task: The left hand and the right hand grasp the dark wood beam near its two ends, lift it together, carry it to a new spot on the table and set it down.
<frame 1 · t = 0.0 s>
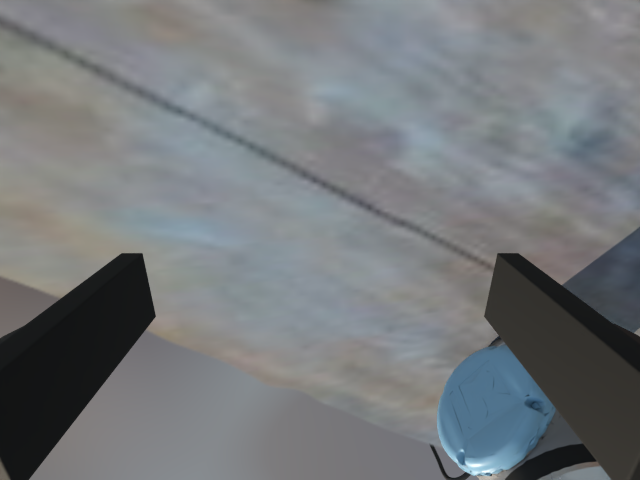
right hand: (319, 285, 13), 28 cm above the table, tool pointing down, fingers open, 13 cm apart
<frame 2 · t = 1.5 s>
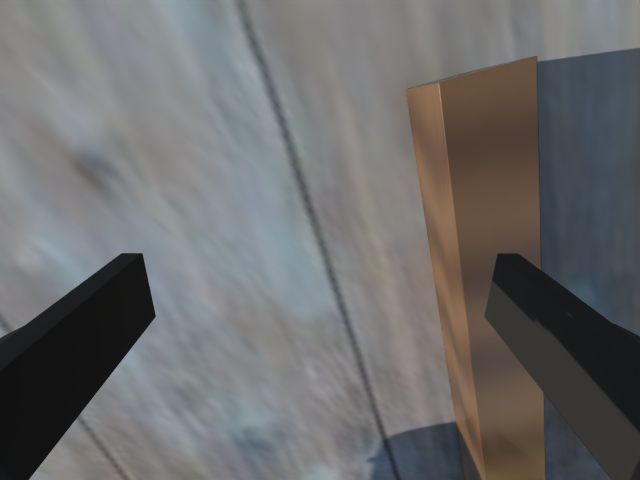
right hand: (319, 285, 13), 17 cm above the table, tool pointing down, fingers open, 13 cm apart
beam: (474, 378, 36), on the table
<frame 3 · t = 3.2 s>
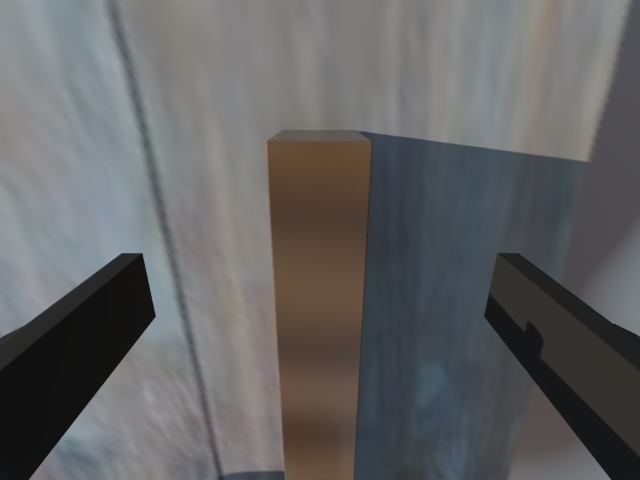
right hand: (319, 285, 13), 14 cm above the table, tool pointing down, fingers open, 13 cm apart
beam: (319, 433, 35), on the table, touching left hand
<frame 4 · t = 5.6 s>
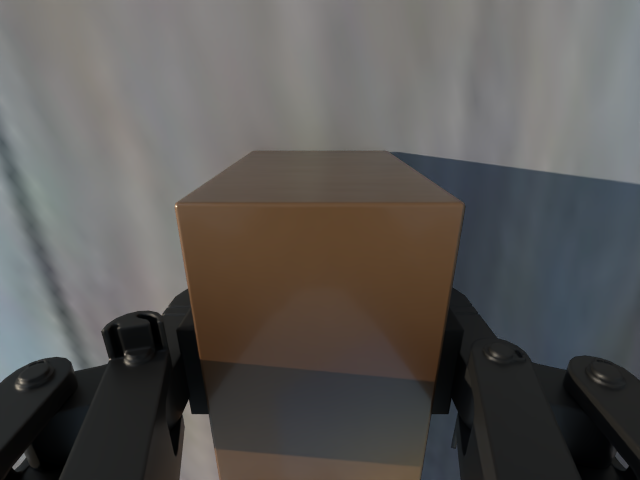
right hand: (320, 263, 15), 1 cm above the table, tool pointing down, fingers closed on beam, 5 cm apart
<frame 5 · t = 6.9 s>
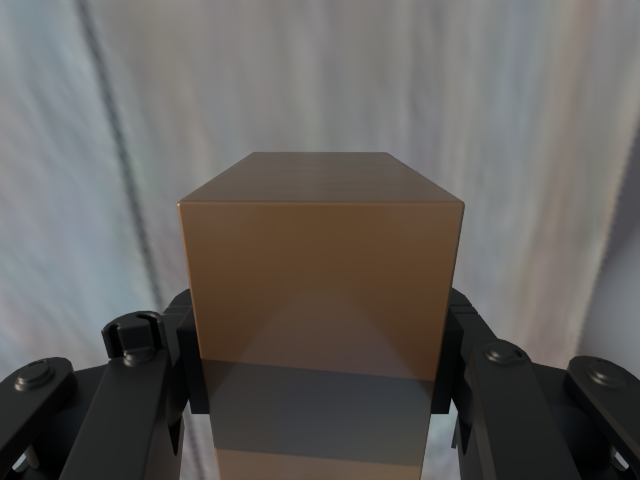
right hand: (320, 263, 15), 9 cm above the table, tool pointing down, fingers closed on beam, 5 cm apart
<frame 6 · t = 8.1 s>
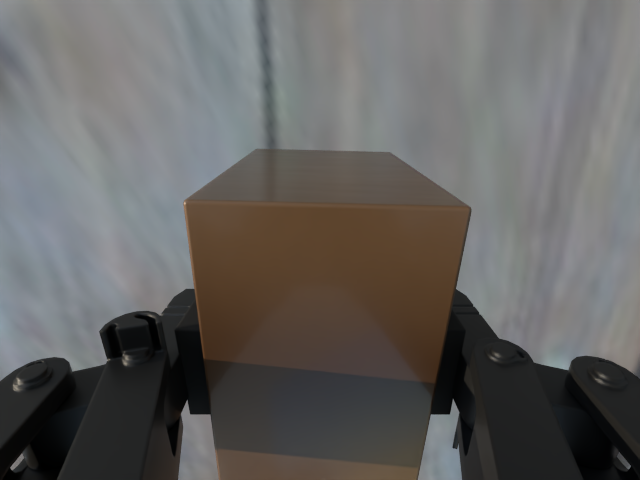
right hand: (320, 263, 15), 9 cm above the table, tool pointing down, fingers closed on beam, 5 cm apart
when the left hand's fingers open (2 cm above the table, at t = 10.7 s): beam stays where it is, on the table.
when the right hand's fingers open (2 cm above the table, at t = 10.7 s): beam stays where it is, on the table.
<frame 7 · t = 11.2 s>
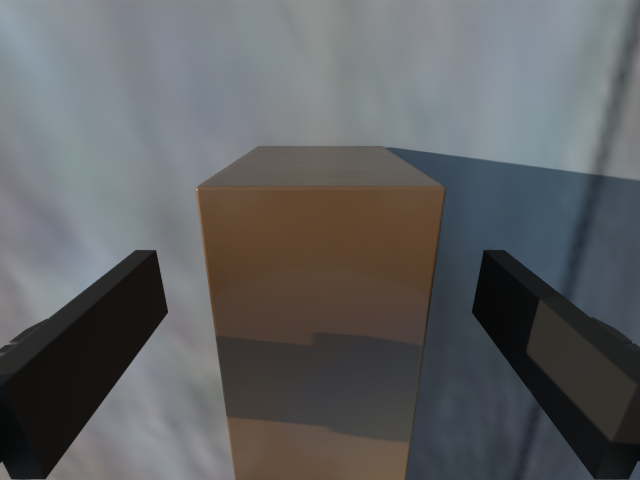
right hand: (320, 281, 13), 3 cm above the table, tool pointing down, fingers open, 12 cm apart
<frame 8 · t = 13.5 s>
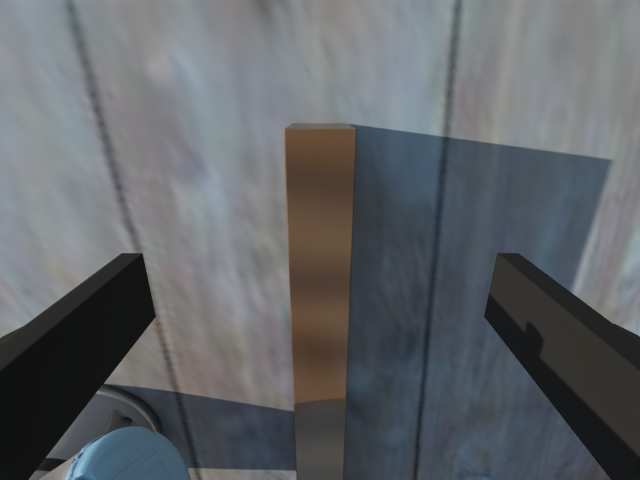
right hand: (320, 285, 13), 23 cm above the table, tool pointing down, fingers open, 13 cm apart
beam: (320, 371, 43), on the table
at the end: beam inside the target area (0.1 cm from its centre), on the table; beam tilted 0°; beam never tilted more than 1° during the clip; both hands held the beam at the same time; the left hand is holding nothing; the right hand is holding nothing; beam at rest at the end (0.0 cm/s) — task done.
